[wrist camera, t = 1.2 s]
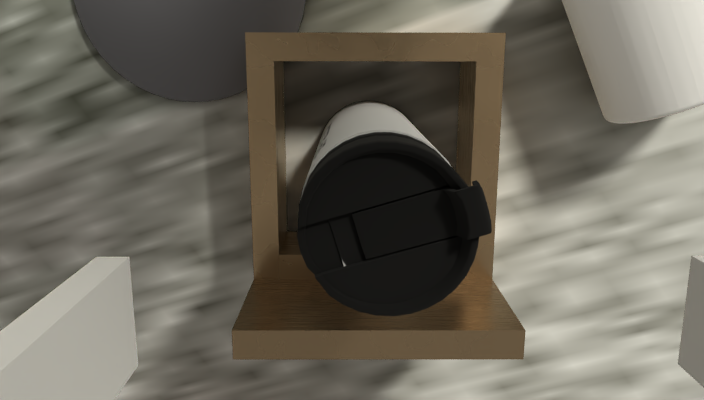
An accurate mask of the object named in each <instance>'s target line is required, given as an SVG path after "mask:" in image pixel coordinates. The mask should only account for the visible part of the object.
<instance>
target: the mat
mask: <svg viewBox="0 0 704 400" xmlns="http://www.w3.org/2000/svg"><path fill="white" fill-rule="evenodd" d="M305 2H306V0H74V3H75V6H76V10H77V13H78V16H79V18H80V21H81V23H82V26H83V28H84V30H85V32H86V34H87V35H88V37H89V39H90V41H91V42H92V44H93V46H94V47H95V48H96V50H97V51H98V52H99V54H100V55H101V56H102V57H103V59H104V60H105V61H106V62H107V63H108V64H109V65H110V66H111V67H112V68H113V69H114V70H115V71H117V72H118V73H119V74H120V75H121V76H123V77H124V78H125V79H127V80H128V81H130V82H131V83H133V84H134V85H136V86H137V87H139V88H142V89H144V90H146V91H148V92H150V93H152V94H155V95H158V96H161V97H164V98H168V99H173V100H178V101H188V102H202V101H212V100H217V99H222V98H226V97H229V96H232V95H235V94H238V93H240V92H242V91H244V90H246V89H247V71H246V43H245V32H284V33H298V31H299V27H300V24H301V21H302V18H303V13H304V8H305Z"/></svg>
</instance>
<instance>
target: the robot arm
mask: <svg viewBox="0 0 704 400" xmlns="http://www.w3.org/2000/svg"><path fill="white" fill-rule="evenodd" d="M678 364H679V365H680V366H681V367H682V368H683V369H684V370H685V371H686V372H687V373H688V374H689V375H691V376H692V377H693V378H694V379H695V380H696V381H697V382H698V383H699V384H700V385H702V386H703V387H704V256H691V264H690V272H689V280H688V288H687V296H686V304H685V311H684V319H683V327H682V335H681V343H680V351H679V359H678ZM137 367H138V355H137V342H136V330H135V318H134V306H133V294H132V282H131V270H130V258H129V257H95V258H94V259H93V260H92V261H90V262H89V263H88V264H86V265H85V266H84V267H82V268H81V269H80V270H79V271H77V272H76V273H75V274H73V275H72V276H71V277H70V278H68V279H67V280H66V281H64V282H63V283H62V284H61V285H59V286H58V287H57V288H55V289H54V290H53V291H51V292H50V293H49V294H48V295H46V296H45V297H44V298H42V299H41V300H40V301H39V302H37V303H36V304H35V305H33V306H32V307H31V308H29V309H28V310H27V311H26V312H24V313H23V314H22V315H20V316H19V317H18V318H17V319H15V320H14V321H13V322H11V323H10V324H9V325H8V326H6V327H5V328H4V329H2V330H1V331H0V400H115V398H116V397H117V396H118V394H119V393H120V391H121V390H122V388H123V387H124V385H125V384H126V382H127V381H128V380H129V378H130V377H131V375H132V374H133V372H134V371H135V369H136V368H137Z"/></svg>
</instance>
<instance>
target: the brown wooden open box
mask: <svg viewBox="0 0 704 400" xmlns="http://www.w3.org/2000/svg"><path fill="white" fill-rule="evenodd" d="M505 37H506V33H284V32H245V43H246V71H247V99H248V127H249V154H250V182H251V210H252V238H253V266H254V280H253V283H252V285H251V287H250V290H249V292H248V294H247V297H246V299H245V301H244V304H243V306H242V308H241V310H240V313H239V315H238V317H237V320H236V322H235V324H234V327H233V329H232V346H233V359H523V357H524V342H525V329H524V328H523V326H522V325H521V323H520V321H519V320H518V318H517V317H516V315H515V314H514V312H513V311H512V309H511V308H510V306H509V305H508V303H507V301H506V300H505V298H504V297H503V295H502V294H501V292H500V291H499V289H498V288H497V286H496V285H495V283H494V281H493V280H492V272H493V254H494V236H495V218H496V199H497V181H498V163H499V145H500V127H501V109H502V91H503V73H504V55H505ZM283 61H460V82H459V107H458V132H457V157H456V172H457V173H458V174H459V176H460V177H461V178H462V179H463V180H464V182H465V183H466V184H467V185H468V186H473V184H472V181H476V180H477V181H478V182H479V183H480V185H481V187H482V189H483V192H484V195H485V198H486V202H487V205H488V209H489V213H490V218H491V224H492V232H491V233H490V234H487V235H484V236H480V237H479V243H478V249H477V252H476V256H475V260H474V262H473V264H472V266H471V268H470V270H469V272H468V274H467V276H466V277H465V278H464V279H463V281H462V282H461V283H460V284H459V286H458V287H457V288H456V289H455V290H454V291H453V292H452V293H450V294H449V295H448V296H447V297H446V298H444V299H443V300H442V301H440V302H438V303H436V304H435V305H433V306H431V307H429V308H427V309H424V310H421V311H418V312H415V313H412V314H407V315H400V316H376V315H372V314H367V313H363V312H359V311H356V310H354V309H352V308H349V307H347V306H345V305H343V304H341V303H340V302H338V301H337V300H335V299H334V298H332V297H331V296H329V295H328V294H327V292H326V291H325V290H324V288H323V287H322V286H321V285H320V283H319V282H318V281H317V280H316V278H315V274H313V273H312V272H311V271H310V270H309V269H308V268H307V266H306V264H305V261H304V259H303V257H302V255H301V252H300V248H299V244H298V239H297V233H298V231H287V195H286V151H285V107H284V63H283Z"/></svg>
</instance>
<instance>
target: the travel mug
mask: <svg viewBox="0 0 704 400" xmlns="http://www.w3.org/2000/svg"><path fill="white" fill-rule="evenodd" d="M472 184H473V186H468V185H467V184H466V183H465V182H464V180H463V179H462V178H461V177H460V176H459V174H458V173H457V172H456V171H455V170H454V169H453V168H452V166H451V165H450V163H449V162H448V160H447V159H446V158H445V157H444V156H443V155H442V154H441V153H440V152H439V151H438V150H437V149H436V148H435V147H434V146H433V145H432V144H431V143H430V142H429V141H428V140H427V139H426V138H425V137H424V136H423V135H422V134H421V133H420V132H419V131H418V130H417V129H416V128H415V126H414V125H413V124H412V123H411V122H410V121H409V120H408V119H407V118H406V117H405V116H404V115H403V114H402V113H401V112H400V111H398V110H397V109H395V108H394V107H392V106H390V105H387V104H385V103H382V102H377V101H361V102H356V103H353V104H351V105H348V106H346V107H344V108H343V109H341V110H340V111H338V112H337V113H336V114H335V115H334V116H333V117H332V118H331V119H330V121H329V122H328V124H327V125H326V127H325V129H324V131H323V134H322V136H321V139H320V142H319V145H318V148H317V150H316V153H315V156H314V159H313V161H312V164H311V167H310V170H309V173H308V175H307V178H306V181H305V184H304V187H303V189H302V195H301V200H300V203H299V212H298V233H297V239H298V244H299V248H300V252H301V255H302V257H303V259H304V261H305V264H306V266H307V268H308V269H309V270H310V271H311V272H312V273H313V274H315V278H316V280H317V281H318V282H319V283H320V285H321V286H322V287H323V288H324V290H325V291H326V292H327V294H328V295H329V296H331V297H332V298H334V299H335V300H337V301H338V302H340V303H341V304H343V305H345V306H347V307H349V308H352V309H354V310H356V311H359V312H363V313H367V314H372V315H376V316H400V315H407V314H412V313H415V312H418V311H421V310H424V309H427V308H429V307H431V306H433V305H435V304H436V303H438V302H440V301H442V300H443V299H444V298H446V297H447V296H448V295H449V294H450V293H452V292H453V291H454V290H455V289H456V288H457V287H458V286H459V284H460V283H461V282H462V281H463V279H464V278H465V277H466V276H467V274H468V272H469V270H470V268H471V266H472V264H473V262H474V260H475V256H476V252H477V249H478V243H479V237H480V236H484V235H487V234H490V233H491V232H492V224H491V218H490V213H489V209H488V205H487V202H486V198H485V195H484V192H483V189H482V187H481V185H480V183H479V182H478V181H477V180H476V181H472Z"/></svg>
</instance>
